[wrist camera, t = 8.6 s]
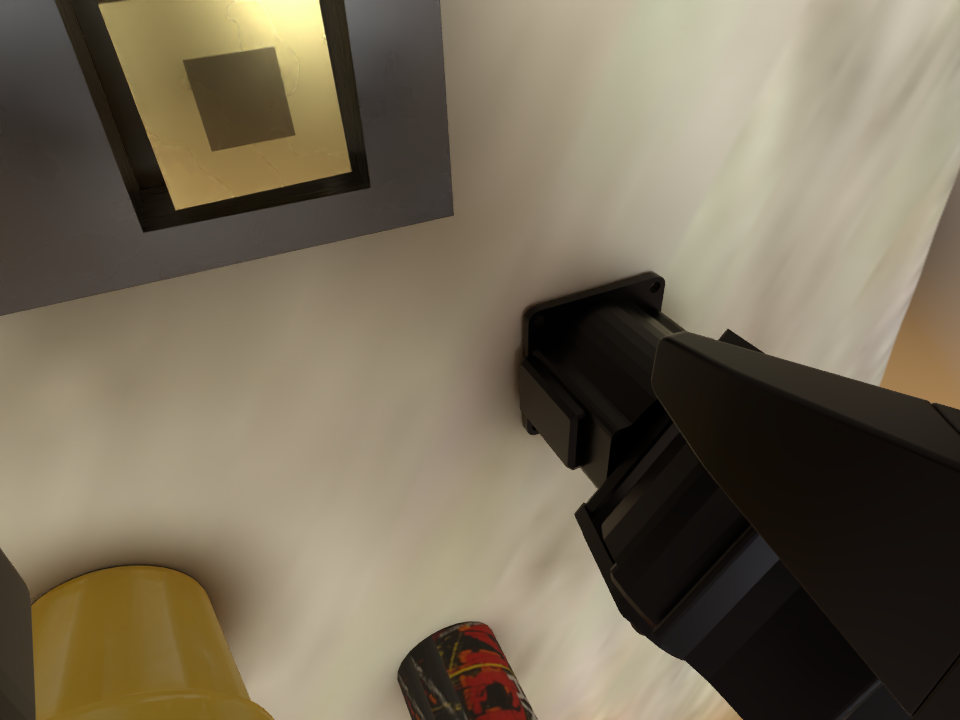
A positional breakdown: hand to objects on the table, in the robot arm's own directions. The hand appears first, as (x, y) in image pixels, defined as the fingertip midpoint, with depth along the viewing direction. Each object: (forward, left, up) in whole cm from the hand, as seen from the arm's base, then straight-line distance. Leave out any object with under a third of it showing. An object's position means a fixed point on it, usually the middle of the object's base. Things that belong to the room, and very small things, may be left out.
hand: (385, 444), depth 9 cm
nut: (0, -3, -13) cm, 13 cm away
